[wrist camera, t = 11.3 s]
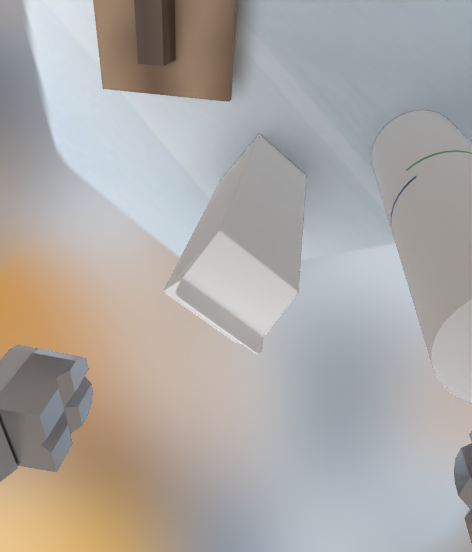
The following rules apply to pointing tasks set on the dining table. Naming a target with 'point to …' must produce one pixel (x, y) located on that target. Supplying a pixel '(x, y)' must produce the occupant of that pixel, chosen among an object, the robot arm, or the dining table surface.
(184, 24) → the lid
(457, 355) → the cylindrical container
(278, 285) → the milk
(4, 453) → the robot arm
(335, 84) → the dining table surface
